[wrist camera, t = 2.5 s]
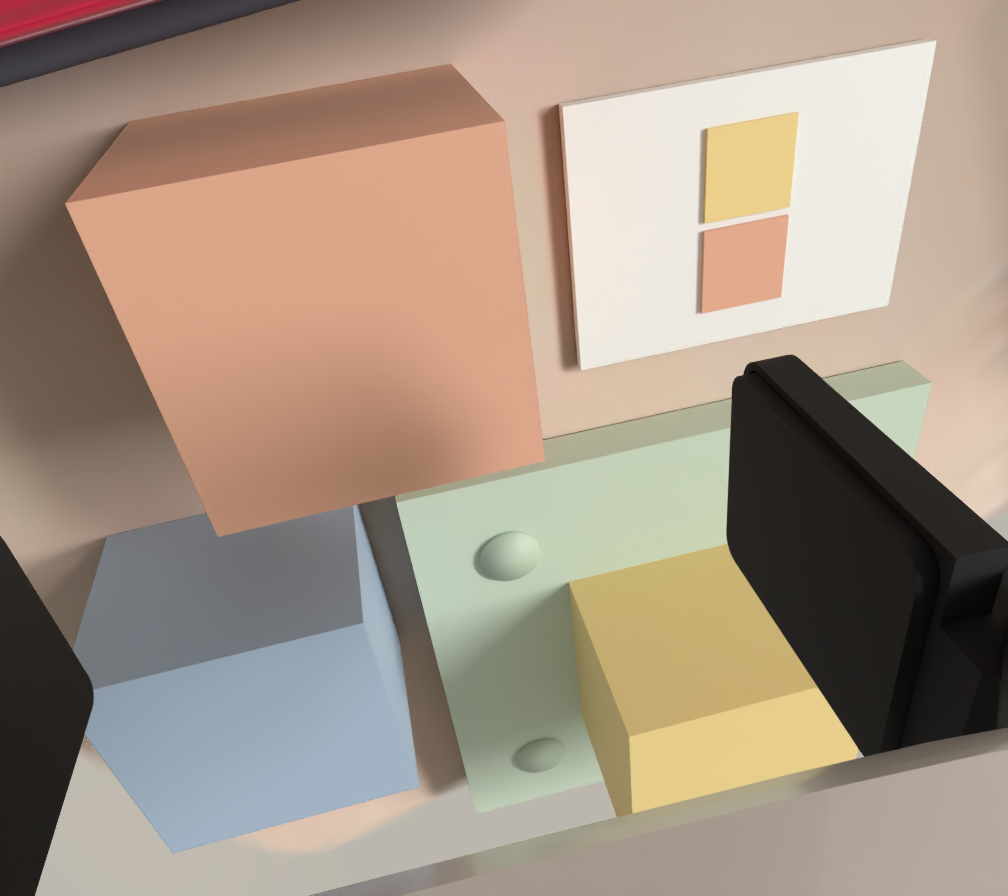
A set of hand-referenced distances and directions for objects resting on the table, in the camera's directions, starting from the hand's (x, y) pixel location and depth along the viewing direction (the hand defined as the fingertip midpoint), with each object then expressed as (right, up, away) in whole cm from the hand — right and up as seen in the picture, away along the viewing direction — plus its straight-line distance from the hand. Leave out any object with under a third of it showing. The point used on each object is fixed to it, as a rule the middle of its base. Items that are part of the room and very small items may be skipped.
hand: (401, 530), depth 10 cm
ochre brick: (+6, -4, +13) cm, 15 cm away
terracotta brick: (-2, +5, +6) cm, 9 cm away
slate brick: (-5, -3, +11) cm, 12 cm away
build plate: (+6, -4, +14) cm, 16 cm away
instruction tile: (+7, +6, +8) cm, 12 cm away
